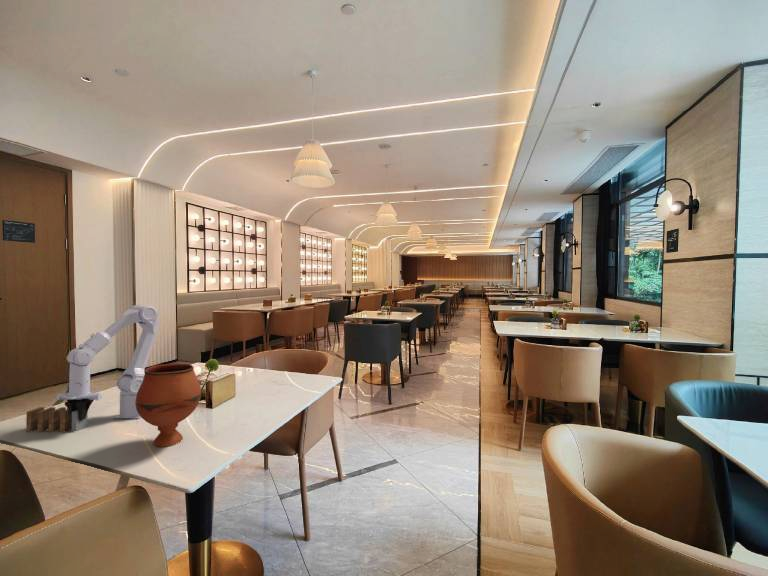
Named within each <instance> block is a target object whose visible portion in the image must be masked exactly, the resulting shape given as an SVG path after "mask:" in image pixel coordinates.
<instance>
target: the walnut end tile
mask: <svg viewBox="0 0 768 576" xmlns="http://www.w3.org/2000/svg"><path fill="white" fill-rule="evenodd" d="M42 410H45V406H39V407H37V408H34V409H30V410H28V411H26V419H25V421H26V423H25V425H26V426H25V428H26V430H25V431H26V433H31V431H32V432H34V431H36V429H37V430H38V412H39V411H42Z"/></svg>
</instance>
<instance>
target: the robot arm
mask: <svg viewBox="0 0 768 576" xmlns="http://www.w3.org/2000/svg"><path fill="white" fill-rule="evenodd" d="M158 317H159V312H158V311H157V309H156V308H155V307H154V306H152V305H142V304H135V305H133V306H131V307H130V308H128V309H127V310H126V311H125V312H124V313H123V314H122V315H121V316H120V317H119V318H118V319H116V320H115V321H114V322H113V323H112V324H111V325H110V326H108V327H107V328H106V329H105V330H104V331H102V332H101V331H100V332H99V331H98V332H96V333H92V334H91V335H90V337H89V338H88V339H87V340H86V341H84V342H83V343H80V344H79V345H78V347H77V348H73V349H72V350H70V351H69V352H68V355H67V356H66V361H67V362H68V363H69V370H68V371H69V375H68V376H69V377H68V379H69V381H68V386H69V393H67V392H62V393H61V392H60V393H58V394H56V395H55V396H56V398H55V399H56V401H61V400H65V402H64V407H66V409H67V408H68V409H69V411H70V413H71V416H72V412H73V411H75V410H78V415H79V421H82V420H84V419H85V418H86V415H87V412H89V409H90V407H91V405H92V404H93V402H94V401H100V400H102V399H103V393H101V392H100V393H99V392H92V391H91V363H92V362H93V361H94V358H95V356H96V355H97V354H99V353H101V351H102V350H103V349H105V348H106V347H107V346H108V345H109V344H110V343H111V342H112V341H111V340H112V338H113V337H115V335H117V334H118V333H119V332H121V331H122V330H124V329H125V328H126V327H127V326H130V324H137V323H138V325H139V326H140V328H141V329H142V331H141V334H140V336H139V339H138V342H137V344H136V347H135V350H134V353H133V355H132V358H131V359H130V360H131V361H130V363H129V366H128V367H127V368H126V369H125V370H124V371H123V374H122V375H121V376H120V377H119V378H118V380H117V382H116V385H117V388H118V389H119V390H120V393H119V414H117V415H115V416H114V417H113V419H140V418H141V417H140V415H139V414H138V412H137V410H136V405H135V401H136V395H137V392H138V390H139V388H140V386H141V384H142V382H143V378H144V375H145V373H144V371H145V370H146V366H147V362H148V361H149V357H150V355H151V352H152V349H153V347H154V344H155V341H156V338H157V335H158V333H159V329H160V322H159V318H158ZM67 400H68V401H67Z"/></svg>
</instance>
